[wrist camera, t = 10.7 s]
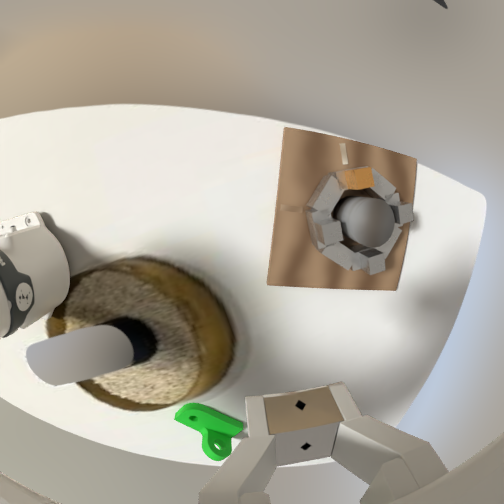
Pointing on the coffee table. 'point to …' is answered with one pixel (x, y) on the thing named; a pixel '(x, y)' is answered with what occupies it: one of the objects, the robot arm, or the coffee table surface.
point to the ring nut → (329, 229)
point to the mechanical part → (210, 428)
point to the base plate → (299, 191)
